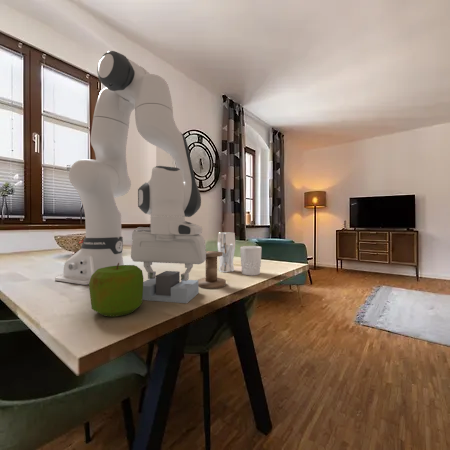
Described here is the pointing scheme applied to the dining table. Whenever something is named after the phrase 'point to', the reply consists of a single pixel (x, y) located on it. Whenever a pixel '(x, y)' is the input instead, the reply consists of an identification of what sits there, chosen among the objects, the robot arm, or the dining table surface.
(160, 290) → the tab
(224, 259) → the beer glass
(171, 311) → the dining table surface
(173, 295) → the notch board
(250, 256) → the white cup
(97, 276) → the apple
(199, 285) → the bobbin
